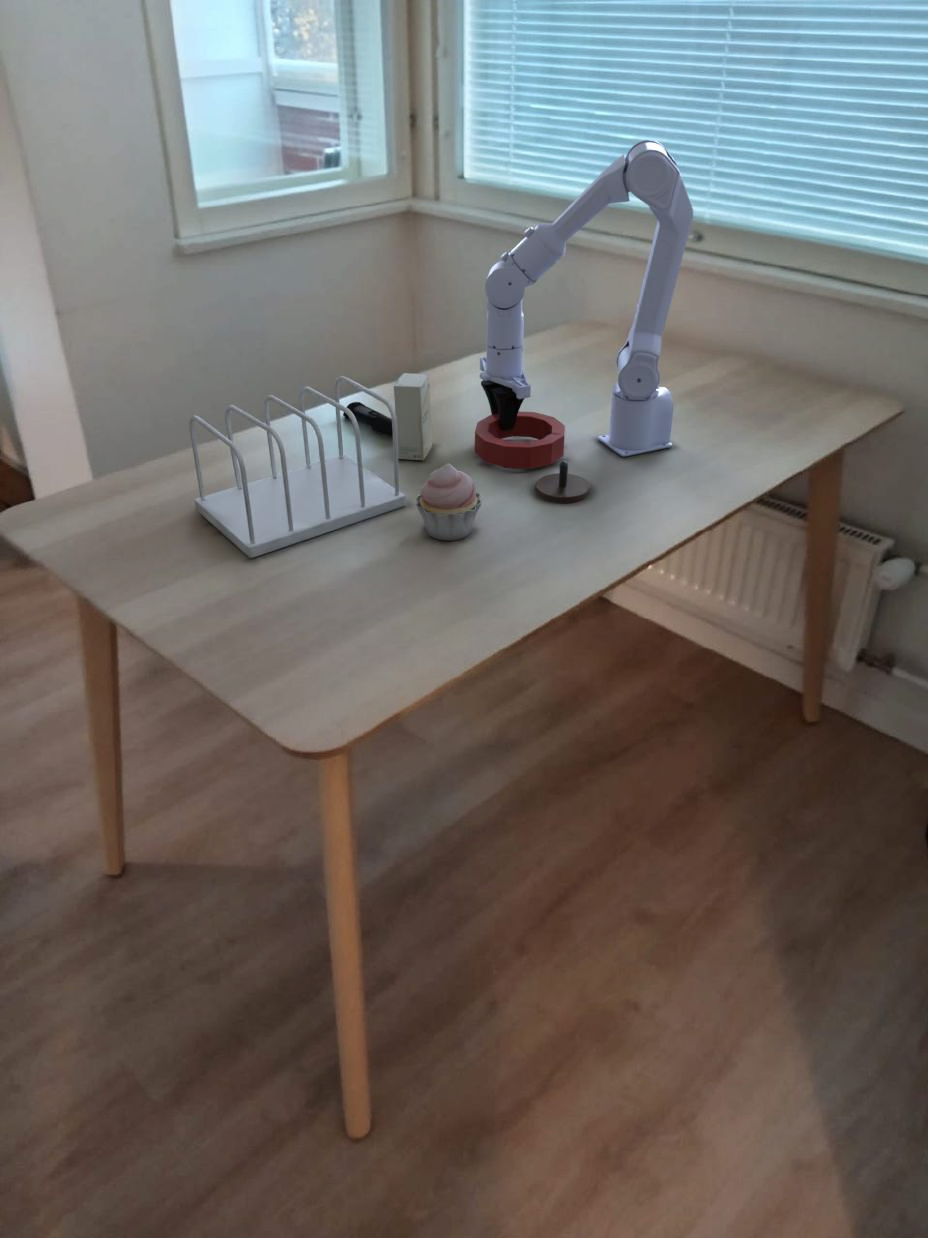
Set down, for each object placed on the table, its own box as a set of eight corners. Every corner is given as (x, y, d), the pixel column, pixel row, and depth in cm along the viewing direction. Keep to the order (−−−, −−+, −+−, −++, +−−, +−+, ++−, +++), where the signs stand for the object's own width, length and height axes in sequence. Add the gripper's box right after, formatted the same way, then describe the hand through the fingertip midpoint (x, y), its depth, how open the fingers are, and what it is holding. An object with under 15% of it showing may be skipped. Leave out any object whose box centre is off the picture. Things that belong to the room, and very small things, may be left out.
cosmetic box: (423, 461, 150) (421, 387, 143) (396, 459, 151) (392, 385, 144) (432, 445, 155) (430, 373, 149) (406, 443, 156) (403, 371, 149)
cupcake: (487, 516, 135) (487, 451, 129) (476, 549, 127) (476, 482, 122) (423, 512, 136) (420, 447, 131) (408, 544, 129) (405, 477, 123)
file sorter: (250, 561, 126) (233, 451, 117) (195, 512, 137) (176, 409, 128) (407, 505, 138) (402, 403, 129) (344, 465, 150) (336, 368, 141)
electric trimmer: (397, 447, 156) (396, 429, 154) (341, 418, 165) (340, 401, 163) (414, 440, 158) (414, 422, 156) (359, 413, 167) (357, 396, 165)
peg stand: (573, 475, 146) (574, 446, 143) (599, 496, 140) (602, 466, 137) (526, 485, 143) (527, 455, 140) (551, 507, 137) (552, 477, 134)
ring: (538, 426, 159) (539, 405, 157) (579, 458, 149) (581, 437, 147) (461, 440, 155) (461, 419, 153) (499, 475, 144) (499, 453, 142)
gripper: (462, 333, 152) (463, 414, 160) (501, 361, 141) (500, 446, 149) (502, 327, 154) (501, 407, 162) (543, 354, 143) (540, 439, 151)
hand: (503, 425), depth 155 cm, fingers closed on ring, 2 cm apart
